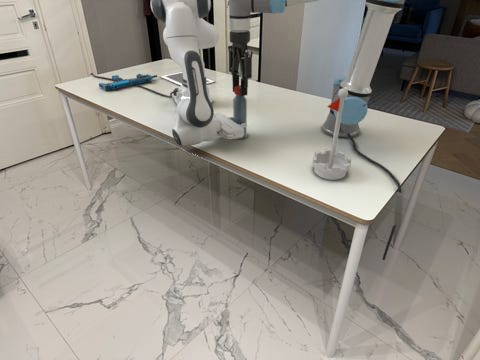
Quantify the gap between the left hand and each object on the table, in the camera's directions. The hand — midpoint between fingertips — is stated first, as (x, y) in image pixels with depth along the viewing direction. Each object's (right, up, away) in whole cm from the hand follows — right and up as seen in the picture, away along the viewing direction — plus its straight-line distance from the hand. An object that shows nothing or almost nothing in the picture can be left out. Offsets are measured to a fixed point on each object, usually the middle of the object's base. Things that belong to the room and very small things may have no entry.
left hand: (241, 121), depth 142 cm
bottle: (-1, -6, +3) cm, 7 cm away
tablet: (-34, +39, +71) cm, 88 cm away
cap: (-1, +12, -8) cm, 15 cm away
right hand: (-1, +10, -7) cm, 12 cm away
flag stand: (+31, -22, -21) cm, 44 cm away
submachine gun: (-70, +35, +66) cm, 103 cm away
